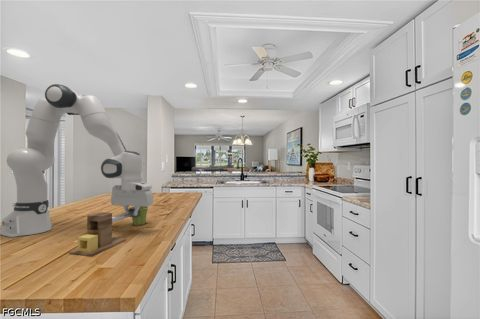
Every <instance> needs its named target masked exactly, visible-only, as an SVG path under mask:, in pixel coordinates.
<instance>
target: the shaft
mask: <svg viewBox="0 0 480 319" xmlns="http://www.w3.org/2000/svg"><path fill="white" fill-rule="evenodd" d="M131 207H132V208H131ZM131 207H128V209H129V212H126V211H125V212H124V213H121V214H118V215H117V214H116V215H114V216H113V215H112V223H115V222H118V221H120V220H123V219H126V218H132V217H139V216H140V208H139V210H138V214H137V215H136V216H133V215H132V214H133V213H132V212H134V211H135V209H136V208H134V206H131ZM96 225H97V227H98V222H97V223H96Z"/></svg>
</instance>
